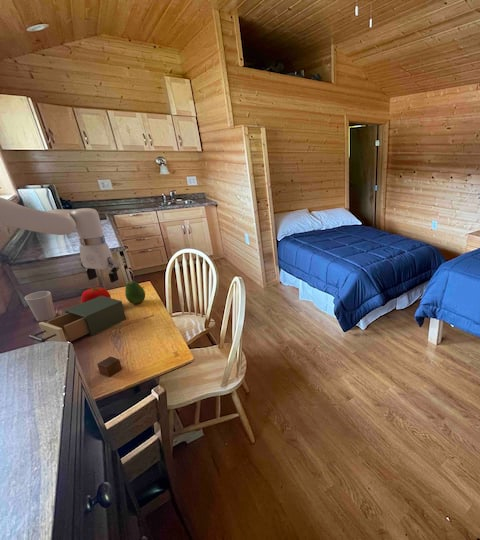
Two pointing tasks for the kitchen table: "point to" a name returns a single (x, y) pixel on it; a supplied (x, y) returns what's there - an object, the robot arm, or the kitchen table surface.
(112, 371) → the block
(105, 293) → the tomato
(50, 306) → the cup
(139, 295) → the fruit
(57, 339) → the drawer
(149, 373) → the kitchen table surface
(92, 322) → the cabinet
